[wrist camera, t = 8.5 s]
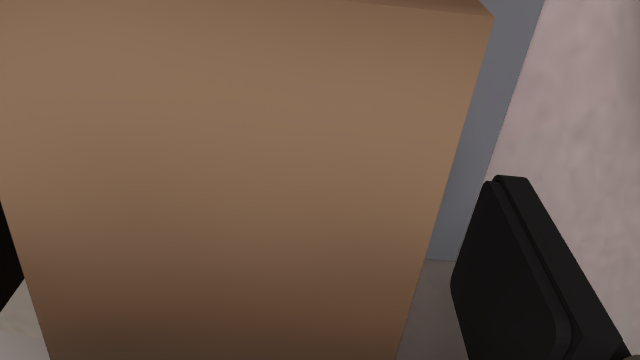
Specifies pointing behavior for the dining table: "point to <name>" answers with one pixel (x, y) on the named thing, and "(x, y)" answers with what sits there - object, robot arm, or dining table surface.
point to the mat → (483, 120)
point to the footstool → (229, 169)
